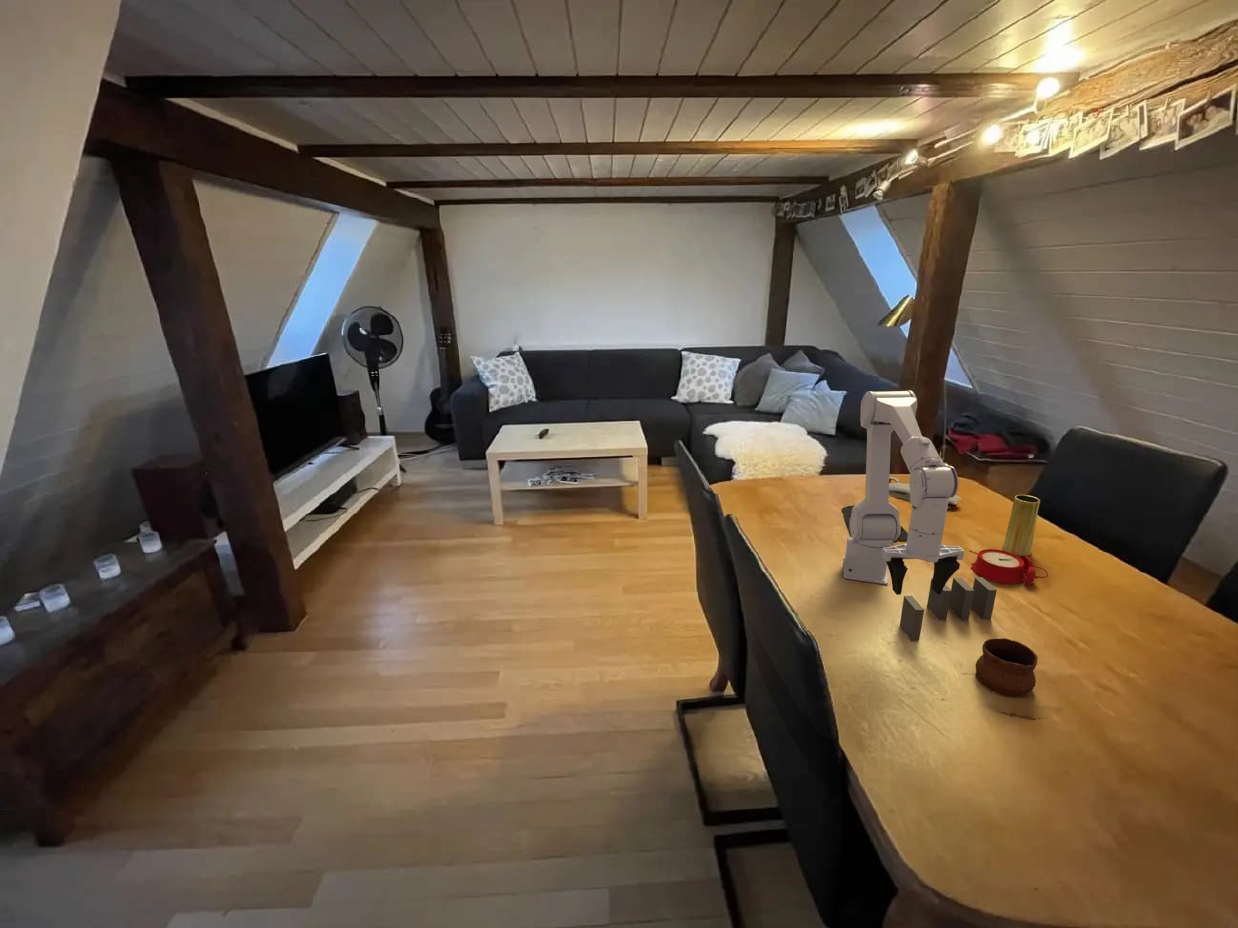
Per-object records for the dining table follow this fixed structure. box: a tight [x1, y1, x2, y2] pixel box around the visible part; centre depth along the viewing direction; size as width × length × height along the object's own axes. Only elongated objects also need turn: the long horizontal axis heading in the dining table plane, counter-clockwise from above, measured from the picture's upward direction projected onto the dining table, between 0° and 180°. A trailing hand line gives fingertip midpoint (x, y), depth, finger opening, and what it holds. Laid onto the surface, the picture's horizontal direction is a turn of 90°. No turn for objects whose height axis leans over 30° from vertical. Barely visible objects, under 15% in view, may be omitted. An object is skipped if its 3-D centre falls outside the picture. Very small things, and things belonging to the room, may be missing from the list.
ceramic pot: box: [974, 637, 1048, 721], centre depth 100 cm, size 18×18×7 cm
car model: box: [889, 476, 962, 510], centre depth 179 cm, size 11×24×5 cm, turn 40°
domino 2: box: [949, 577, 974, 621], centre depth 119 cm, size 2×5×7 cm, turn 179°
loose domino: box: [899, 595, 925, 642], centre depth 113 cm, size 2×5×7 cm, turn 179°
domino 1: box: [926, 577, 952, 621], centre depth 119 cm, size 2×5×7 cm, turn 179°
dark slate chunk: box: [841, 504, 908, 543], centre depth 161 cm, size 15×22×5 cm
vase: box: [1001, 494, 1041, 557], centre depth 143 cm, size 6×6×14 cm
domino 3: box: [971, 576, 998, 621], centre depth 119 cm, size 2×5×7 cm, turn 179°
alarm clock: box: [969, 548, 1049, 586], centre depth 134 cm, size 10×6×15 cm
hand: (916, 591), depth 111 cm, fingers open, 7 cm apart
